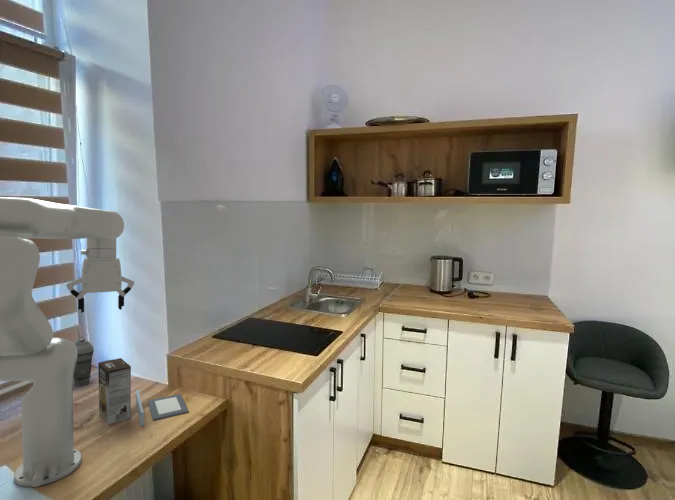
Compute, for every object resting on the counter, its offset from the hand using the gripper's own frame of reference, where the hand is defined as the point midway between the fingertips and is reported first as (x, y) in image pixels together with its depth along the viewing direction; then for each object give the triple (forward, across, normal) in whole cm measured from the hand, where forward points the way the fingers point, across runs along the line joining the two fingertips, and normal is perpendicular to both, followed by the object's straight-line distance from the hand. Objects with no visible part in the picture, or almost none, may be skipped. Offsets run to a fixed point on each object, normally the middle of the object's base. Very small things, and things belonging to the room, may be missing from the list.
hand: (101, 310), depth 113 cm
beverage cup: (+31, -5, +26) cm, 41 cm away
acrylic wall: (+32, +10, -7) cm, 34 cm away
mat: (+32, +18, -7) cm, 37 cm away
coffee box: (+32, +3, -4) cm, 32 cm away
